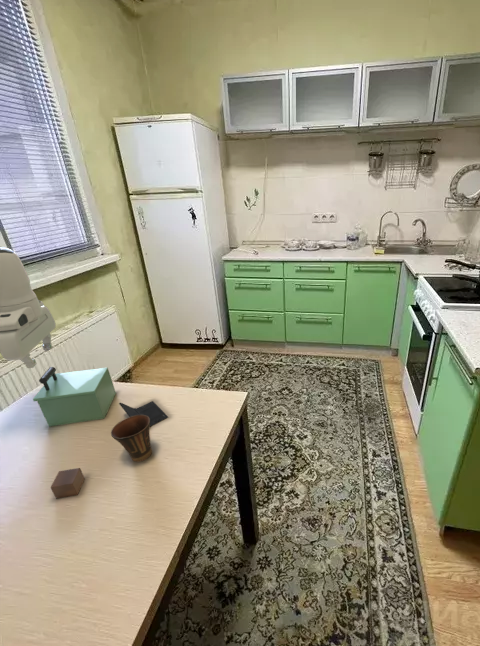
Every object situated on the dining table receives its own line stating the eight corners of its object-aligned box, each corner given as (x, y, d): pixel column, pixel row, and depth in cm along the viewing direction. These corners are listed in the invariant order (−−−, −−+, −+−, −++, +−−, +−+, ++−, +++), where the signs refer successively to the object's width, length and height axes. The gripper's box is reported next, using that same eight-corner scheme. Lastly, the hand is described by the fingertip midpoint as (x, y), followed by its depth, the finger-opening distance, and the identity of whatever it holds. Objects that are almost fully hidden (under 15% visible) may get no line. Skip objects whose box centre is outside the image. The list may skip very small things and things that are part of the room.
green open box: (50, 428, 92) (37, 401, 87) (67, 401, 103) (57, 375, 98) (105, 420, 94) (95, 393, 90) (116, 395, 105) (108, 369, 101)
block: (57, 501, 71) (50, 487, 69) (65, 484, 75) (59, 471, 73) (79, 497, 72) (72, 483, 70) (86, 480, 76) (80, 467, 74)
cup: (136, 438, 87) (126, 409, 83) (165, 444, 85) (157, 414, 81) (112, 464, 80) (100, 433, 75) (143, 471, 78) (133, 440, 73)
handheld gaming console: (174, 410, 95) (146, 398, 87) (161, 434, 92) (132, 423, 85) (153, 401, 102) (126, 389, 94) (140, 422, 99) (112, 412, 92)
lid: (33, 401, 87) (26, 386, 85) (54, 376, 98) (48, 362, 96) (95, 393, 90) (89, 378, 87) (108, 369, 101) (103, 355, 99)
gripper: (27, 298, 91) (45, 341, 97) (-19, 328, 73) (7, 379, 79) (51, 296, 92) (68, 339, 98) (12, 325, 74) (35, 376, 80)
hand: (40, 357), depth 89 cm, fingers open, 8 cm apart
